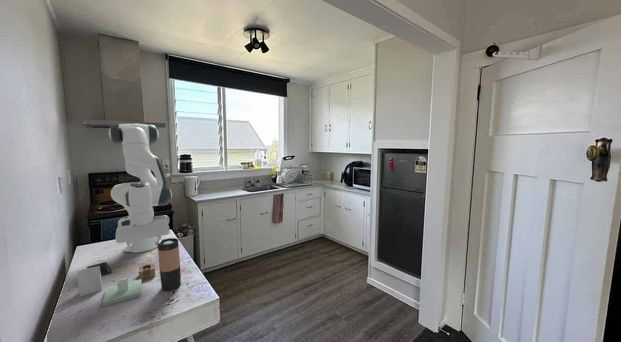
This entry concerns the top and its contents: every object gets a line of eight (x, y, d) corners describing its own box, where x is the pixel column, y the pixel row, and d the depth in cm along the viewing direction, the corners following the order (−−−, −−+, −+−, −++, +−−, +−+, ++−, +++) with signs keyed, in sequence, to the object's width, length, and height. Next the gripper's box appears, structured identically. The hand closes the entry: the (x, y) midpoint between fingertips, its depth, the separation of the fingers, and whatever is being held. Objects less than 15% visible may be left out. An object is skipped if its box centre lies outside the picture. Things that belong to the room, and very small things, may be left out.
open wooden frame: (139, 274, 116) (139, 265, 116) (155, 270, 120) (154, 262, 119) (139, 280, 111) (138, 270, 111) (155, 276, 114) (154, 267, 114)
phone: (106, 261, 128) (111, 271, 118) (106, 263, 128) (111, 274, 118) (85, 267, 122) (89, 278, 112) (86, 269, 122) (89, 280, 112)
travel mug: (184, 286, 106) (180, 241, 104) (163, 294, 101) (160, 246, 99) (178, 279, 112) (175, 236, 110) (158, 286, 107) (155, 241, 104)
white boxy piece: (101, 290, 104) (99, 267, 103) (79, 296, 100) (77, 273, 99) (102, 286, 107) (99, 264, 106) (81, 292, 103) (78, 269, 102)
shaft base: (107, 290, 104) (105, 277, 103) (141, 281, 110) (140, 269, 109) (102, 306, 94) (100, 291, 93) (140, 295, 100) (139, 281, 99)
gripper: (168, 212, 120) (170, 240, 122) (115, 220, 109) (118, 250, 111) (169, 215, 115) (171, 244, 116) (113, 223, 104) (116, 255, 106)
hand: (145, 247), depth 114 cm, fingers open, 8 cm apart
